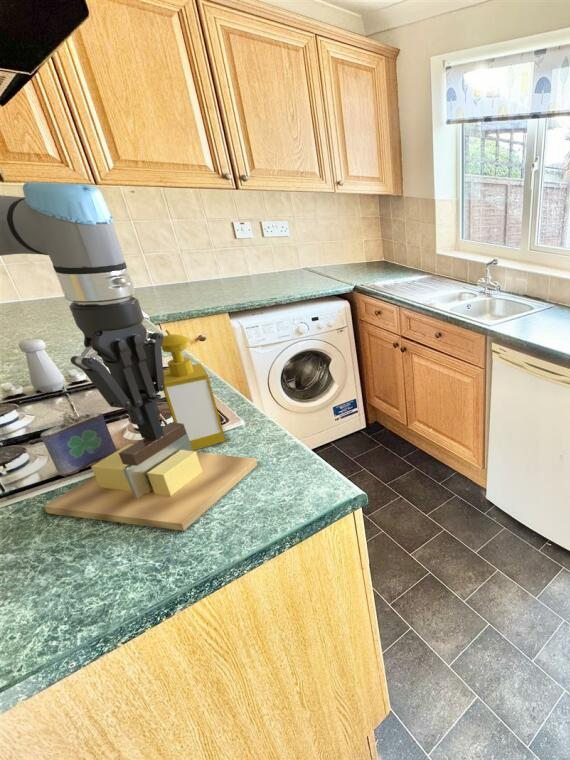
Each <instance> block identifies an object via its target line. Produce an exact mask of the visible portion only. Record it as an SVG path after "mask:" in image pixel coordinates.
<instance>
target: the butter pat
mask: <svg viewBox="0 0 570 760" xmlns="http://www.w3.org/2000/svg"><path fill="white" fill-rule="evenodd" d="M196 452H197V451H195V450H193V451H185V450H180V451H179V452H177V453H176V454H174V455H173V456H171V457H170V458H168V459H167V460H165V461H164V462H162V463H161V464H160V465H158V466H157V467H155V468H154V469H152V470H151V471H149V472H148V473H147V475H148V477H149V480H150V483H151V485H152V488H153V490H154V493H155V494H158V495H167V496H172V495H173V494H174V493H175V492H177V491H178V490H179V489H181V488H182V487H183V486H184V485H186V484H187V483H188V482H190V481H191V480H192V479H193V478H195V477H196V476H197V475H199V474H200V473H201V472H202V469H201V466H200V463H199V460H198V456H197V453H196Z"/></svg>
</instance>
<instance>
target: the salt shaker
mask: <svg viewBox="0 0 570 760" xmlns="http://www.w3.org/2000/svg"><path fill="white" fill-rule="evenodd" d="M18 349H20V351H21V352H22V353H25V358H26V362H27V368H28V374H29V379H30V383H31V385H32V386H33V387H34V388H35V389H37V390H38V391H39V392H40V393H44V394H46V393H54V392H57V391H61V390H63V387H64V384H65V381H66V378H65V376H64V375H63V373H62V372H61V371H60V369H59V367H57V365H56V364H55V362H54V361H53V360H52V358H51V357H50V355H49V354H48V353H47V351H46V350H45V349H47V345H46V342H44V340H42V339H40V338H31V339H25V340H22V341H20V342H19V343H18Z"/></svg>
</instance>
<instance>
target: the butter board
mask: <svg viewBox="0 0 570 760" xmlns="http://www.w3.org/2000/svg"><path fill="white" fill-rule="evenodd" d="M195 452H196V453H197V456H198V460H199V463H200V466H201V469H202V472H201V473H200V474H199V475H197V476H196V477H195V478H193V479H192V480H191V481H190V482H188V483H187V484H186V485H184V486H183V487H182V488H181V489H179V490H178V491H177V492H175V493H174V494H173V495H172V496H167V495H158V494H155V493H154V490H152V491H151V492H149V493H145V494H143V495H142V496H141V497H139V498H138V499H137V498H134V495H133V493H132V491H126V490H118V489H110V488H102V487H100V485H99V483H98V481H97V479H96V476H95V475H93V476H92V477H90V478H88V479H87V480H85V481H83V482H82V483H80V484H78V485H77V486H75V487H74V488H72V489H70V490H68V491H67V492H65V493H64V494H62V495H60V496H59V497H57V498H55V499H54V500H51V501H50V502H49V503H47V504H45V505H44V509H45V511H46V513H47V514H51V515H58V516H66V517H74V518H80V519H81V518H82V519H90V520H97V521H105V522H113V523H120V524H128V525H135V526H143V527H151V528H158V529H167V530H175V531H182V532H185V531H186V530H187V529H188V528H189V527H190V526H192V525H193V524H194V523H195V522H196V521H197V520H198V519H199V518H201V517H202V515H204V514H205V513H206V512H207V511H208V510H209V509H210V508H212V507H213V506H214V505H215V504H216V503H217V502H218V501H219V500H220V499H222V498H223V497H224V496H225V495H226V494H227V493H228V492H229V491H230V490H231V489H233V488H234V487H235V486H236V485H237V484H238V483H240V482H241V481H242V480H243V479H244V478H245V477H246V476H247V475H248V474H249V473H250V472H252V471H253V470H254V469H255V468H256V467H257V466H258V460H257V458H253V457H245V456H244V457H243V456H235V455H226V454H216V453H208V452H200V451H195Z"/></svg>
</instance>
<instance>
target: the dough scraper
mask: <svg viewBox="0 0 570 760" xmlns="http://www.w3.org/2000/svg"><path fill="white" fill-rule="evenodd" d="M161 427H162V429H163V432H164V435H163V436H162V437H160V438H158V439H149V438H141V439H140V440H138V441H137V442H135V443H134V444H133V443H132V446H130V447H128V448H126V449H125V450H123V451H121V452H120V453H119V456H120V458H121V460H122V463H123V464H126V465H128V466H126V467H125V468H123V471H124V473H125V476H126V478H127V481H128V483H129V486H130V488H131V491H132V493H133V495H134V498H137V499H138V498H139V497H141V496H142V495H143V494H145V493H146V492H148V491H149V490H150V489H152V485H151V483H150V480H149V477H148V475H147V473H148V472H149V471H151V470H152V469H154V468H155V467H157V466H158V465H160V464H161V463H162V462H164V461H165V460H167V459H168V458H170V457H171V456H173V455H174V454H176V453H177V452H179V451H180V450H185V451H194V450H192V447H191V444H190V440H189V437H188V434H187V431H186V430H185V427H184V424H181V423H174V422H173V421H172V422H169V423H166V425H164V426H161Z"/></svg>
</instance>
